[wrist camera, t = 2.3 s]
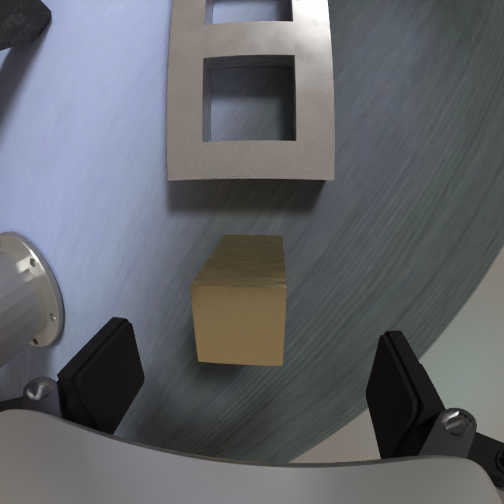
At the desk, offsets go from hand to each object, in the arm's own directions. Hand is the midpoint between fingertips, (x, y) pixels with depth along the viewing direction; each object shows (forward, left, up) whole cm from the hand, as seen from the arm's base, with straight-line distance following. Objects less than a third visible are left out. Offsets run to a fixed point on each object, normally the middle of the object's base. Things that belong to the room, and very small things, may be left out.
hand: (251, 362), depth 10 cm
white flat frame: (+12, +15, -12) cm, 22 cm away
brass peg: (-1, 0, -12) cm, 12 cm away
